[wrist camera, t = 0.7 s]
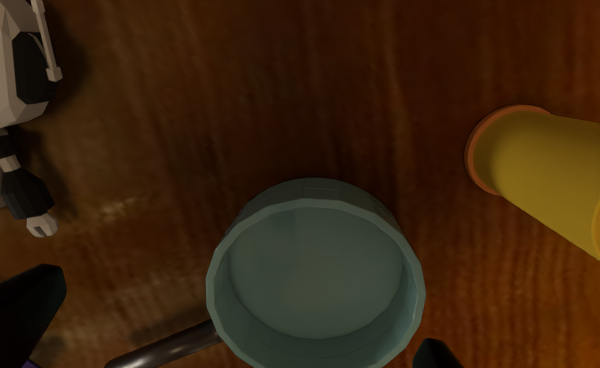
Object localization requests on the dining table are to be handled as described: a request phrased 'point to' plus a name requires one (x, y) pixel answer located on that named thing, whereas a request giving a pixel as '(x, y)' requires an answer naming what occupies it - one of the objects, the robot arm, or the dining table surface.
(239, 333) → the pan
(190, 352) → the pan handle
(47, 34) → the robot toy
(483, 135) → the duck toy
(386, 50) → the dining table surface
